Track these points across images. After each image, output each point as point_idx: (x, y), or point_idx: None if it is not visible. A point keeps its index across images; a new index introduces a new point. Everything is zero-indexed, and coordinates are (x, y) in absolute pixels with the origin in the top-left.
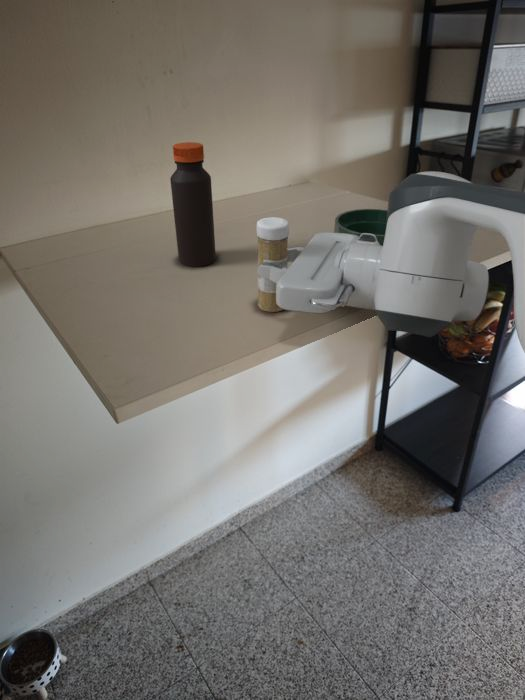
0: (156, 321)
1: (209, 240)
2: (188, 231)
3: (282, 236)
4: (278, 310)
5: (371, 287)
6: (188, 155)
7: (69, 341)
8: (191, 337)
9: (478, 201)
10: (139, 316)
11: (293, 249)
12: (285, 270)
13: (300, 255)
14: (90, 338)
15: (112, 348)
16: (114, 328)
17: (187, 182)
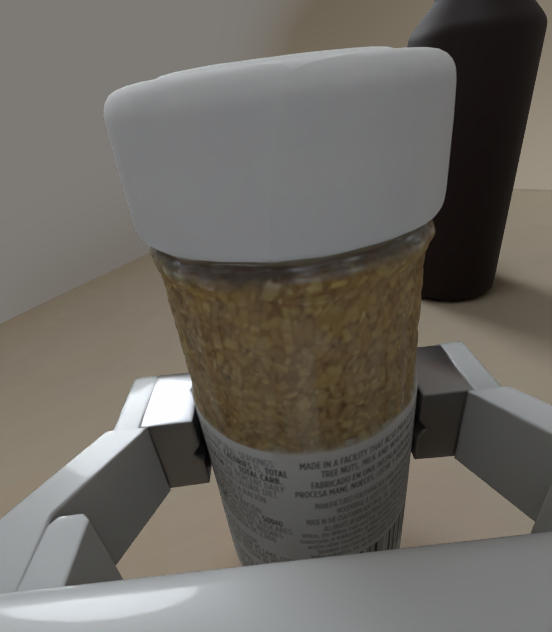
0: (126, 349)
1: (456, 236)
2: None
3: (182, 227)
4: None
5: None
6: None
7: (48, 303)
8: (40, 437)
9: None
10: (144, 323)
11: (545, 430)
12: (5, 573)
13: (340, 586)
14: (56, 314)
15: (11, 348)
16: (92, 319)
17: (423, 33)
